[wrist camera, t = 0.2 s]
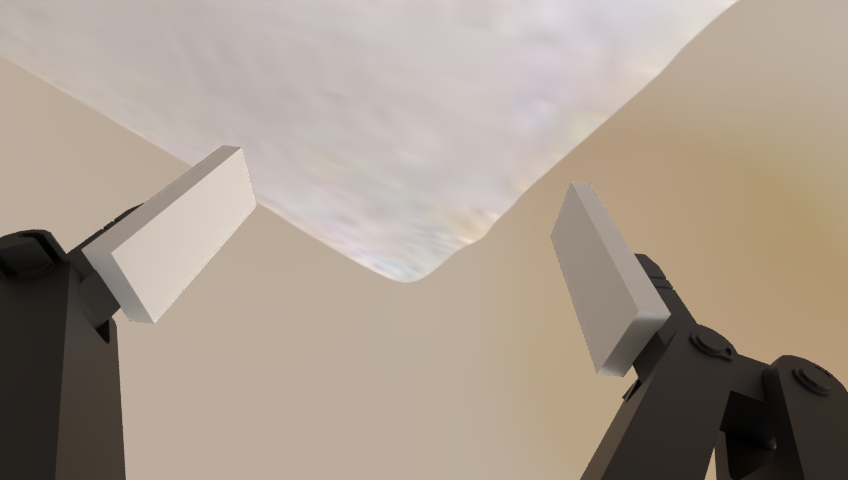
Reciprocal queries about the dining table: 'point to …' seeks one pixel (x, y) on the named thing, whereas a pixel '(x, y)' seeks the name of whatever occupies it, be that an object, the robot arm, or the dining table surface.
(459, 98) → the dining table surface
